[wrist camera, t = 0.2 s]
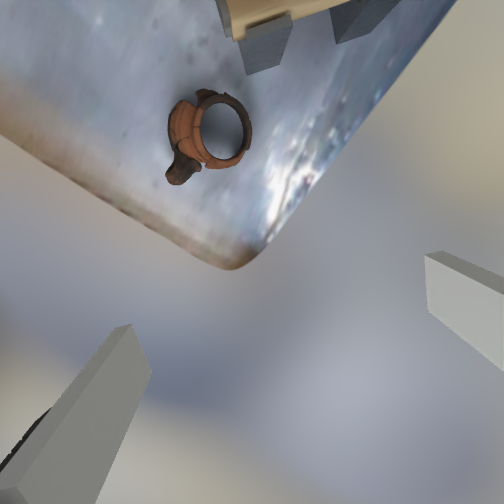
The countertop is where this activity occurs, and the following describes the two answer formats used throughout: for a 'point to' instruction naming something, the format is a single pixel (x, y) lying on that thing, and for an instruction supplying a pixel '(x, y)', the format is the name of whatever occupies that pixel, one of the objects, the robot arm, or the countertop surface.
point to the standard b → (358, 17)
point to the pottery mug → (189, 138)
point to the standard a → (265, 44)
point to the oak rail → (265, 12)
